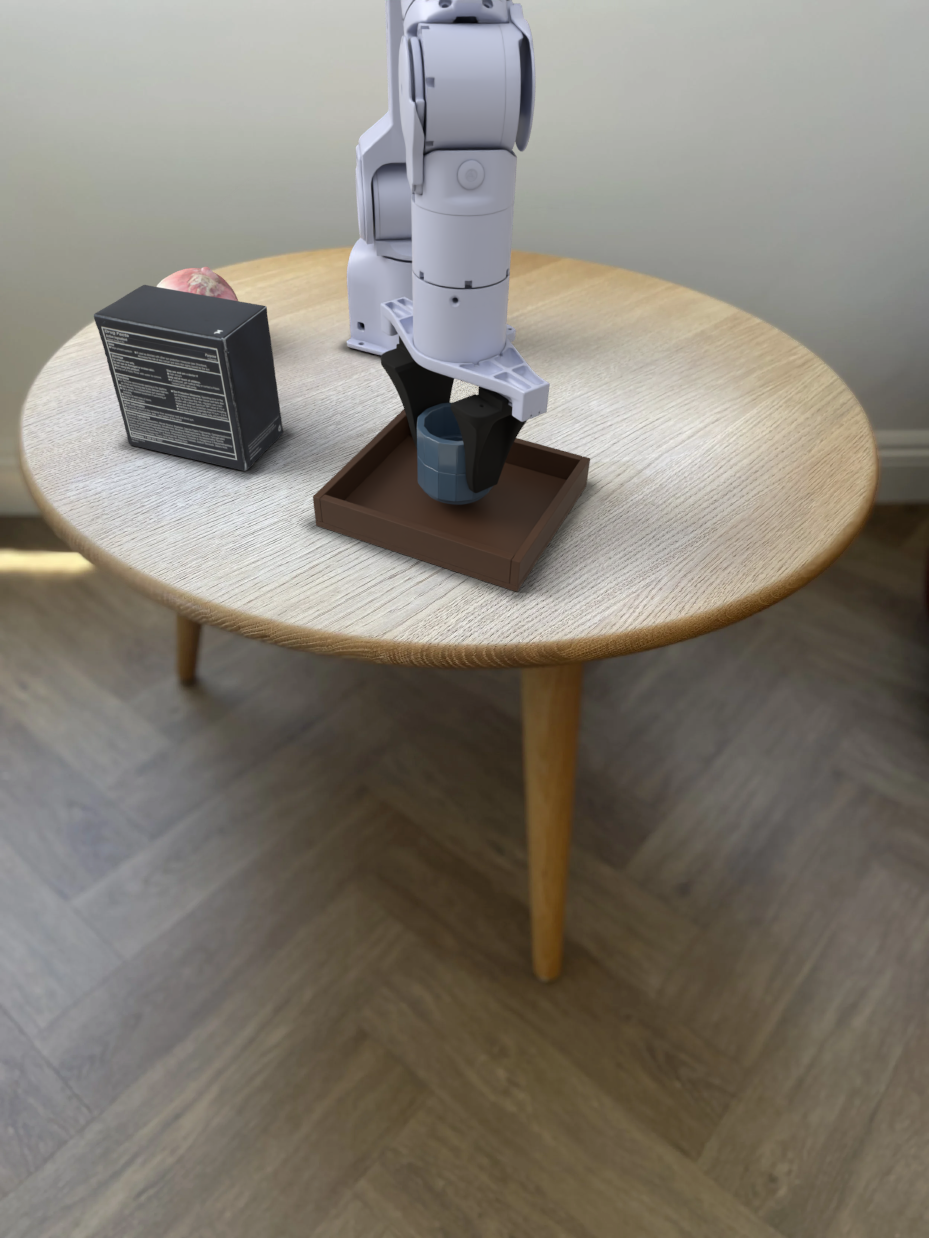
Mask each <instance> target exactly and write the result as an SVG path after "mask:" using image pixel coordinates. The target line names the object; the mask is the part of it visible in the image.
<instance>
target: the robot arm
mask: <svg viewBox="0 0 929 1238" xmlns="http://www.w3.org/2000/svg"><path fill="white" fill-rule="evenodd" d="M384 13H385V14H384V15H385V18H384V19H385V46H386V48H385V49H386V78H387V80H386V81H387V106H388V107H387V112H386V113H385V114H383V116H382V117H381V118H379V119H378V120H377V121H376V122H375V123H374V124H372V125H371V126H370V127H368V129H366V130H365V131H364V132H363V133H362V134H361V135H360V137H359V138H358V140H357V141H358V142H357V143H358V144H356V146H355V160H356V161H355V162H356V167H355V172H354V173H355V175H354V176H355V195H356V210H357V212H356V213H357V222H358V233H359V238H358V239H357V240H356V242H355V243H354V245H353V247H352V249H351V250H350V254H349V257H348V261H347V268H346V288H347V304H348V305H347V306H348V316H349V317H348V319H349V333H350V334H349V335H350V338H349V339H347V340H346V347H348V348H351V349H353V350H358V351H361V352H366V353H370V354H374V355H378V356H380V365H381V366H382V368H383V369H384V371H385V372H386V374H387V376H388V378H389V379H390V380H391V382H392V385H393V386H394V388H395V390H396V392H397V394H398V397H399V399H400V402H401V404H402V407H403V409H404V410H405V413H406V416H407V420H408V423H409V427H410V430H411V434H412V437H413V440H414V443H415V446H416V449H417V418H418V416H419V415H421V414H422V413H423V412H424V411H425V410H426V409H427V408H430V407H433V406H435V405H438V404H441V403H451V397H452V391H453V386H454V382H455V380H458V381H460V382H464V383H468V384H470V385H474V386H476V387H478V391H477V392H478V393H477V394H476V393H474V394H471V395H469V396H466V397H464V398H461V399H459V400H455V401H452V402H453V403H451V410H452V412H453V414H454V416H455V418H456V420H457V422H458V425H459V428H460V431H461V435H462V439H463V444H464V450H465V468H466V480H467V484H468V487H469V489H470V490H471V491H472V492H474V493H478V492H481V491H483V490H485V489H487V488H490V487H492V486H494V485H496V484H497V483H498V480H499V478H500V475H501V472H502V469H503V466H504V464H505V461H506V458H507V456H508V453H509V451H510V449H511V447H512V445H513V443H514V441H515V439H516V438H518V436H519V434H520V432H521V431H522V429H523V427H524V426H525V424H526V423H527V421H529V420H532V419H534V418H536V417H539V416H541V415H543V414H546V413H547V412H548V404H549V395H550V394H549V393H550V382H548V381H547V380H545V379H544V378H542V377H541V376H539V375H538V374H537V373H536V372H535V370H534V369H532V367H531V366H530V364H529V363H528V362H527V361H526V359H525V358H524V357H523V356H522V354H521V353H520V352H519V351H518V350H517V348H516V347H515V345H514V344H513V342H514V341H516V335H517V329H516V328H515V327H514V326H512V325H511V324H509V323H508V310H509V309H508V308H509V296H510V295H509V293H510V278H511V277H510V276H511V262H512V261H511V259H512V245H513V227H514V212H515V197H516V196H515V195H516V181H517V179H516V178H517V165H518V157H517V154H516V153H515V152H514V150H513V149H514V148H515V145H516V148H517V150H518V151H519V152H522V153H523V152H524V151H525V150H526V149H527V147H528V145H529V144H528V143H529V141H530V138H531V133H532V127H533V120H534V113H535V106H536V87H537V86H536V85H537V84H536V83H537V81H536V79H537V77H536V62H535V60H536V59H535V48H534V41H533V40H534V39H533V35H532V30H531V26H530V24H529V22H528V20H527V19H526V18H525V16H524V11H523V5H521V3H520V2H518V3H517V2H516V3H514V2H513V0H384Z"/></svg>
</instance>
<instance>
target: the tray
mask: <svg viewBox="0 0 929 1238" xmlns="http://www.w3.org/2000/svg"><path fill="white" fill-rule="evenodd" d="M590 463H591V458H590V457H588V456H584V455H580V454H577V453H572V452H569V451H566V450H561V449H558V448H555V447H551V446H548V445H544V444H541V443H536V442H533V441H529V440H526V439H521V438H518V437H516V439H515V441H514V443H513V445H512V447H511V449H510V451H509V453H508V456H507V458H506V461H505V464H504V466H503V469H502V472H501V475H500V478H499V480H498V483H497V484H496V485H494V486H493V487H492V489H491V490H490V491H489V492H488V493H487V494H486V495H485V496H484V497H483V498H481V499H480V500H478V501H475V502H472V503H468V504H461V505H454V504H446V503H442V502H439V501H436V500H434V499H433V498H431V497H430V496H429V495H427V493H425V492H424V491H423V489H422V488H421V486H420V485H419V484H418V473H417V449H416V446H415V443H414V440H413V437H412V434H411V430H410V427H409V423H408V420H407V416H406V413H405V410H404V408H403V409H402V410H401V411H400V412H399V413H398V414H397V415H396V416H395V417H394V418H393V419H392V420H391V421H389V423H388V424H386V425H385V426H384V428H382V429H381V430H380V431H379V432H378V433H377V434H375V436H374V437H373V438H372V439H371V440H370V441H368V443H367V444H365V446H363V447H362V448H361V449H360V451H358V452H357V453H356V454H355V455H354V456H353V457H352V458H350V460H349V461H348V462H347V463H346V464H345V465H344V466H342V468H340V469H339V470H338V472H337V473H335V474H334V476H332V477H331V478H329V480H328V481H327V482H326V483H325V484H324V485H323V486H322V487H321V488H320V489H319V490H318V491H316V493H314V495H312V501H313V509H314V518H315V526H316V527H319V528H323V529H324V530H325V529H326V530H329V531H331V532H334V533H338V534H340V535H344V536H347V537H349V538H352V539H355V540H359V541H362V542H364V543H368V544H371V545H374V546H377V547H380V548H383V549H386V550H389V551H392V552H395V553H398V554H401V555H404V556H407V557H410V558H412V559H413V558H414V559H416V560H419V561H422V562H425V563H428V564H430V565H431V564H432V565H434V566H437V567H441V568H444V569H447V570H449V571H453V572H456V573H459V574H462V575H465V576H468V577H471V578H474V579H477V580H480V581H482V582H486V583H489V584H492V585H495V586H498V587H501V588H505V589H507V590H509V591H513V592H516V593H517V592H519V590H520V589H521V588H522V586H523V584H524V582H526V580H527V578H528V576H529V575H530V573H531V572H532V570H533V569H534V567H535V565H537V563H538V562H539V560H540V558H541V557H542V555H543V553H545V551H546V549H547V547H548V546H549V544H550V543H551V541H552V540H553V538H554V537H555V535H556V533H557V532H558V530H559V529H560V528H561V526H562V524H563V523H564V521H565V520H566V518H567V517H568V515H569V514H570V512H571V510H572V509H573V508H574V506H575V505H576V503H577V501H578V500H579V498H580V497H581V495H582V493H583V492H584V490H585V489H586V487H587V485H588V476H589V470H590Z"/></svg>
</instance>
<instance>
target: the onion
mask: <svg viewBox="0 0 929 1238" xmlns="http://www.w3.org/2000/svg"><path fill="white" fill-rule="evenodd" d="M156 287H160V288H166V289H172V290H177V291H183V292H189V293H194V294H200V295H205V296H211V297H217V298H223V299H229V300H234V301H239V299H238V297H237V294H236V292H235V290H234V289H233V288H232V286H231V285H230V284H229V283H228V282H227V280H225V278H224V277H222V276H221V275H220V274H218V273H217V272H214V271H213V270H212V269H211V268H210V267H209V266H203V267H189V268H184V269H180V270H178V271H175V272H173V273H171V274H169V275H168V276H166V277H164V278H163V279H162V280H161V281H159V283H157V285H156Z"/></svg>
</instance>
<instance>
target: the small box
mask: <svg viewBox="0 0 929 1238" xmlns="http://www.w3.org/2000/svg"><path fill="white" fill-rule="evenodd" d="M93 319H94V323H95V325H96V328H97V330H98V334H99V338H100V341H101V343H102V347H103V351H104V355H105V357H106V362H107V365H108V370H109V372H110V376H111V380H112V384H113V388H114V391H115V396H116V398H117V402H118V406H119V411H120V415H121V417H122V420H123V425H124V429H125V434H126V436H127V437H126V438H127V443H128V445H130V446H134V447H138V448H142V449H147V450H149V451H150V450H151V451H155V452H160V453H164V454H169V455H172V456H178V457H181V458H185V459H190V460H195V461H199V462H204V463H208V464H213V465H217V466H221V467H225V468H230V469H234V470H239V471H244V472H245V471H247V470H249V469H250V468H251V467H252V466H253V465H254V463H256V462H257V461H258V459H259V458H260V457H261V456H262V455H263V454H264V453H265V452H267V450H268V449H269V448H270V447H271V446H272V445H273V444H274V443H276V441H277V440H278V439H279V438H281V435H282V434H283V433H284V427H283V420H282V413H281V406H280V399H279V390H278V384H277V376H276V369H275V362H274V361H275V360H274V355H273V346H272V338H271V332H270V325H269V318H268V307H267V306H266V305H262V304H257V303H251V302H246V301H245V302H244V301H241V300H238V301H234V300H229V299H223V298H217V297H211V296H205V295H200V294H194V293H189V292H183V291H177V290H172V289H166V288H160V287H157V286H154V285H148V284H142V285H140V286H139V287H137V288H136V289H135V288H134V290H132V291H130V292H129V293H127V294H125V295H124V296H122V297H120V298H119V299H117V300H116V301H114V302H113V303H111V304H109V305H107V306H105V307H104V308H101V309H100V310H99V311H97V312H95V313H94V314H93Z"/></svg>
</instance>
